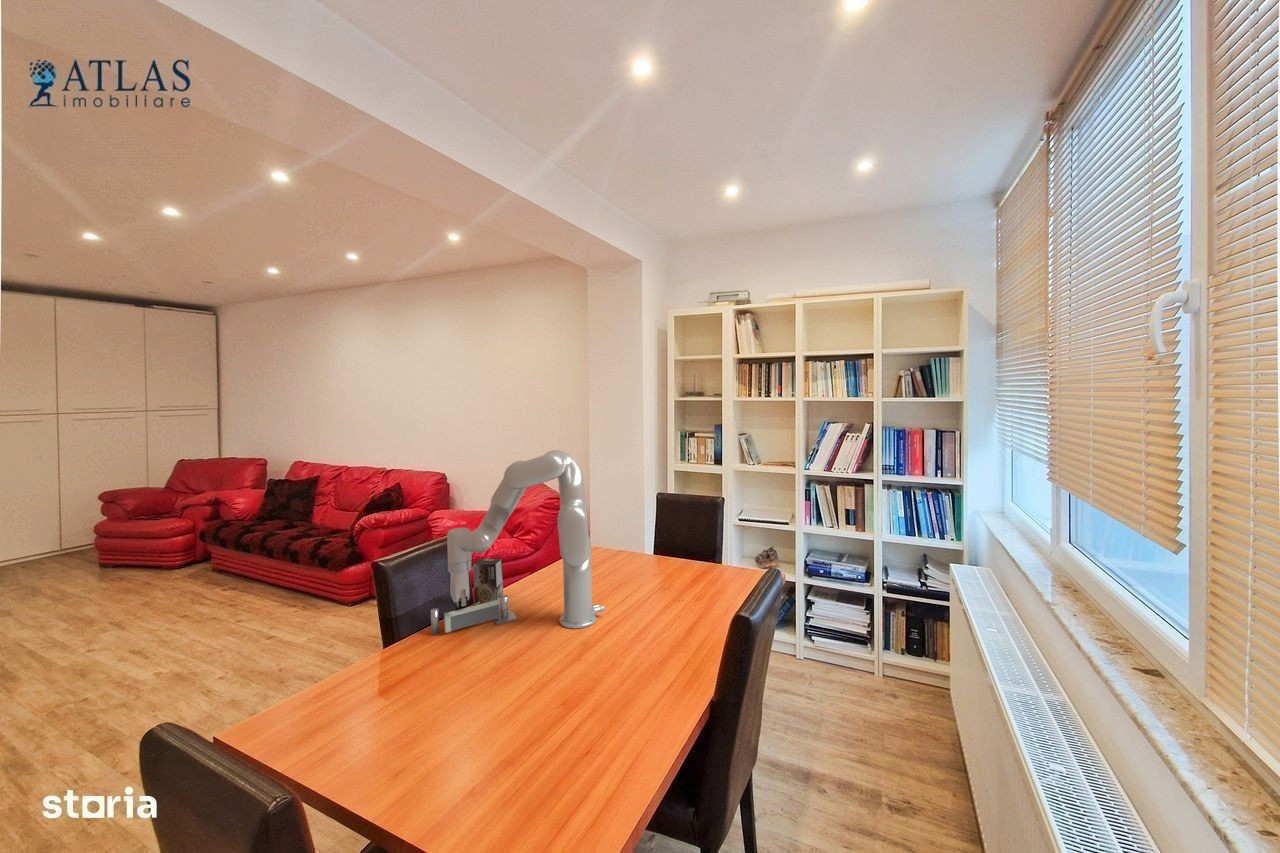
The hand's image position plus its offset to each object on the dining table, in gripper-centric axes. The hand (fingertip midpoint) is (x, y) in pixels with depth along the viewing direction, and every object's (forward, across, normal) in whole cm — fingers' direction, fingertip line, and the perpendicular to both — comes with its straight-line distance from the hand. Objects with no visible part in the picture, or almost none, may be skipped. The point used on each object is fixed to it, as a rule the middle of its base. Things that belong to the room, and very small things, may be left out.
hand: (461, 618), depth 169 cm
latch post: (+3, +2, -8) cm, 9 cm away
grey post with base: (+3, +2, +14) cm, 14 cm away
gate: (+1, +3, +3) cm, 5 cm away
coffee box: (+3, -15, +12) cm, 20 cm away
